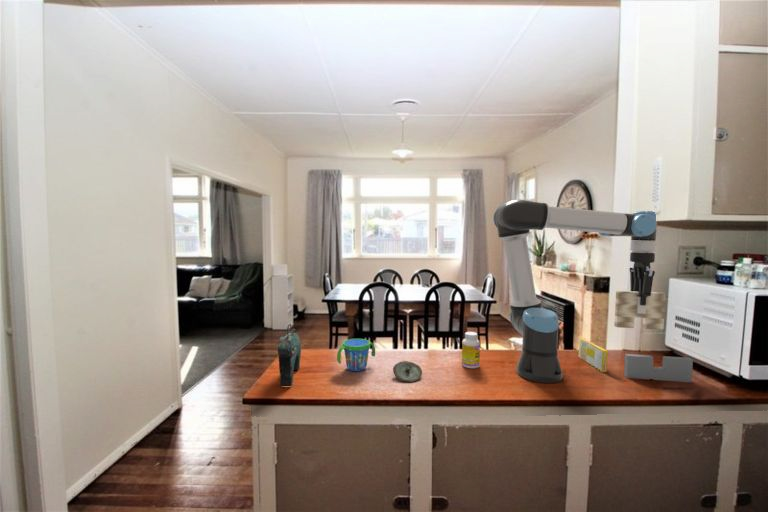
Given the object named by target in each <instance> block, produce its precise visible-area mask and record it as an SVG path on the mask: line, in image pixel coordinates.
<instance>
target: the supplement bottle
mask: <svg viewBox="0 0 768 512" xmlns="http://www.w3.org/2000/svg"><path fill="white" fill-rule="evenodd" d="M461 342H462V343H461V345H462V348H461V364H462V367H464V368H467V369H478V368H479V367H480V360H481V359H480V356H481V354H480V353H481V352H480V351H481V342H480V340H478V333H477V332H475V331H466V332H465V333H464V338H463V339H462V341H461Z"/></svg>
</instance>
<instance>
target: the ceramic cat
mask: <svg viewBox="0 0 768 512" xmlns="http://www.w3.org/2000/svg"><path fill="white" fill-rule="evenodd" d="M291 327H292V324H291V323H290V324H288V325H287V328H286V335H285V336H284V335H282V336H280V337H279V339H278V343H277V355H278V367H279V368H278V369H279V378H280V379H279V382H280V387H281V386H291V385H292V386H293V384H292V383H294V371H293V370H297V369H299V370H300V365H301V363H300V362H301V355H302V344H301V340H300V339H301V338H300V336H299V334H298V333H297V329H295V328H293V329H292V330H291V332H289V328H291ZM297 371H298V370H297Z"/></svg>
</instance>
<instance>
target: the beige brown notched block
mask: <svg viewBox="0 0 768 512" xmlns="http://www.w3.org/2000/svg"><path fill="white" fill-rule="evenodd" d="M637 295H639V292H634V291H631V290H630V291H627V290H626V291H625V290H616V291H615V305H614V306H615V307H614V327H616V328H627V329H634V328H635V318H640V319H641V318H643V319H642V328H643V329H645V330H658V331H659V330H660V331H661V330H664V325H665V312H666V311H665V310H666V295H667V293H666V292H659V291H658V292H657V291H651V296H648V297H647V298H646V314H639V313H637Z"/></svg>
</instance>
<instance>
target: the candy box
mask: <svg viewBox="0 0 768 512" xmlns="http://www.w3.org/2000/svg"><path fill="white" fill-rule="evenodd" d="M578 343H579V344H578V358H579V357H580V358H579V359H581V360H582V359H583V360H582V361H584V362H585V361H586V362H585V363H587V364H589V365H590V364H591V365H590V366H592V367H593V366H594V368H595V369H596V368H597V369H596V370H598V371H599V370H600V372H601V373H607V369H608V357H609V355H608V354H609V351H608V350H606V348H604V347H601V346H599V345H598V344H596V343H593V342H591V341H589V340H587V339H586V338H584V337H579V342H578Z"/></svg>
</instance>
